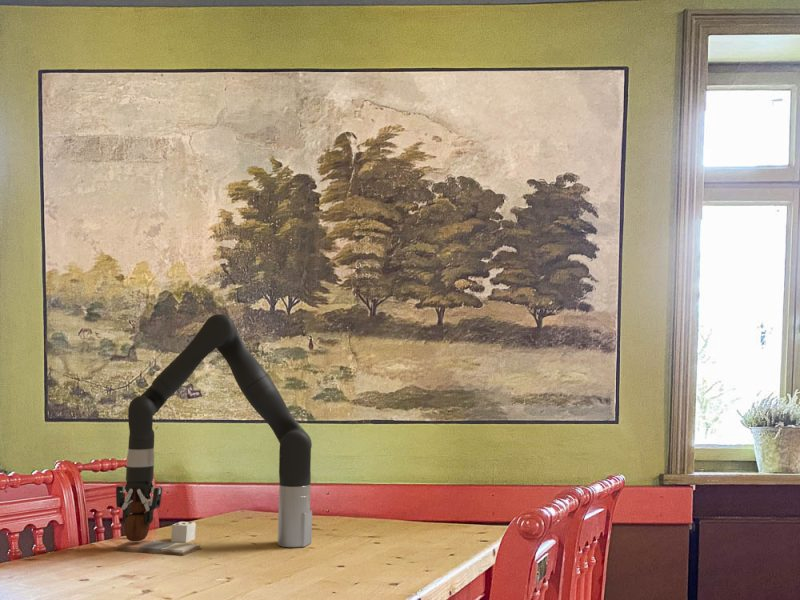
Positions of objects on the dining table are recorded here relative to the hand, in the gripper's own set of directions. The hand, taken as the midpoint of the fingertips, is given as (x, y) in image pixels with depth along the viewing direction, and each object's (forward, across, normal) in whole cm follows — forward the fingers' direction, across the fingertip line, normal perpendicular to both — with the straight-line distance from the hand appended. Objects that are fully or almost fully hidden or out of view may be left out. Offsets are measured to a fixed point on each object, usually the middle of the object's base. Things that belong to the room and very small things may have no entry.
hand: (137, 523), depth 197 cm
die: (+7, -8, -12) cm, 16 cm away
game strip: (+7, -7, 0) cm, 10 cm away
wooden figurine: (+5, 0, 0) cm, 5 cm away
